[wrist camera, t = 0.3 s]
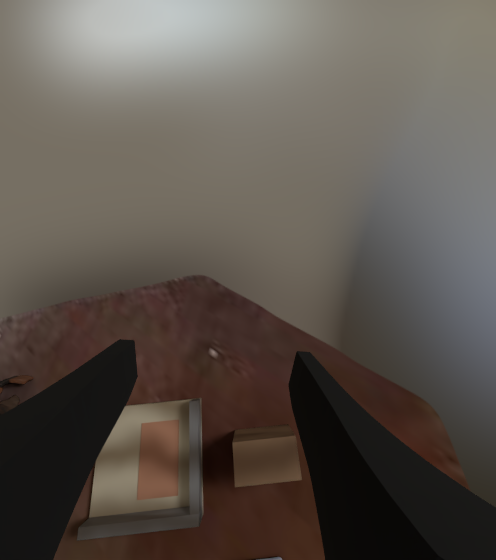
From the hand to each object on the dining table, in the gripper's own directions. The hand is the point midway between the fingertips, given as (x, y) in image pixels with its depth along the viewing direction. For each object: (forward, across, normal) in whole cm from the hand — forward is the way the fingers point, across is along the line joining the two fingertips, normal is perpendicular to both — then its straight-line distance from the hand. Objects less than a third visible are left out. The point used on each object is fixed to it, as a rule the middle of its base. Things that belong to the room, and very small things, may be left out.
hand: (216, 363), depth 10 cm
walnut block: (+13, -8, +27) cm, 31 cm away
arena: (+13, +9, +30) cm, 34 cm away
